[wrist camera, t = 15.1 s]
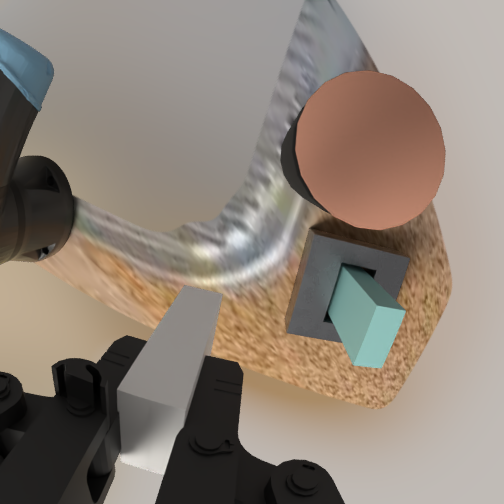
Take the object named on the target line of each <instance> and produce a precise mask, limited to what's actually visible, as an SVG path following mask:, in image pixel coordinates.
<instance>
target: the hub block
mask: <svg viewBox="0 0 504 504" xmlns="http://www.w3.org/2000/svg"><path fill="white" fill-rule="evenodd" d="M409 260H410V258H409V257H407V256H406V255H404V254H403V253H401V252H399V251H398V250H395V249H391V248H387V247H383V246H379V245H376V244H372V243H368V242H364V241H360V240H356V239H352V238H348V237H344V236H340V235H336V234H332V233H328V232H324V231H320V230H316V229H312V228H309V231H308V235H307V239H306V243H305V247H304V250H303V254H302V258H301V262H300V265H299V269H298V273H297V276H296V280H295V284H294V287H293V291H292V294H291V298H290V302H289V305H288V309H287V312H286V315H285V324H286V332H287V333H290V334H295V335H300V336H306V337H311V338H317V339H323V340H329V341H335V342H341V343H342V341H341V338H340V336H339V334H338V332H337V330H336V328H335V326H334V324H333V322H332V320H331V318H330V316H329V314H328V312H327V308H328V305H329V302H330V299H331V296H332V292H333V289H334V286H335V283H336V280H337V276H338V273H339V270H340V266H341V263H342V262H343V263H347V264H352V265H356V266H360V267H364V270H365V271H366V272H367V273H368V274H369V275H370V276H371V277H372V278H373V279H374V280H375V281H376V282H377V283H378V284H379V285H380V286H381V287H382V288H383V289H384V290H385V291H386V292H387V293H389V294H390V295H391V296H392V297H393V298H394V299H395V300H396V299H397V296H398V293H399V290H400V287H401V285H402V282H403V279H404V276H405V273H406V270H407V266H408V263H409Z"/></svg>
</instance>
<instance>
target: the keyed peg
mask: <svg viewBox="0 0 504 504" xmlns="http://www.w3.org/2000/svg"><path fill="white" fill-rule="evenodd" d="M327 312H328V314H329V316H330V318H331V320H332V322H333V324H334V326H335V328H336V330H337V332H338V334H339V336H340V338H341V341H342V343H343V345H344V347H345V349H346V351H347V353H348V355H349V357H350V359H351V362H352V364H353V365H355V366H364V367H373V368H382V366H383V364H384V362H385V359H386V357H387V355H388V353H389V350H390V348H391V346H392V344H393V341H394V339H395V337H396V334H397V332H398V329H399V327H400V324H401V322H402V319H403V317H404V314H405V312H406V310H405V309H404V308H403V307H402V306H401V305H400V304H399V303H398V302H397V301H396V300H395V299H394V298H393V297H392V296H391V295H390V294H389V293H387V292H386V291H385V290H384V289H383V288H382V287H381V286H380V285H379V284H378V283H377V282H376V281H375V280H374V279H373V278H372V277H371V276H370V275H369V274H368V273H367V272H366V271H365V270H364V269H363V268H362V267H360V266H356V265H352V264H347V263H343V262H342V263H341V266H340V270H339V273H338V276H337V280H336V283H335V286H334V289H333V292H332V296H331V299H330V302H329V305H328V308H327Z"/></svg>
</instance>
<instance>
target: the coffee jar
mask: <svg viewBox="0 0 504 504" xmlns="http://www.w3.org/2000/svg"><path fill="white" fill-rule="evenodd" d="M281 165H282V169H283V173H284V176H285V177H286V179H287V181H288V182H289V184H290V186H291V187H292V188H293V189H294V190H295V191H296V192H297V193H298V194H299V195H300V196H302V197H303V198H304V199H306V200H308V201H309V202H311V203H313V204H314V205H316V206H317V207H319V208H321V209H322V210H324V211H325V212H327V213H329V214H332V215H333V216H334V217H336V218H338V219H340V220H342V221H344V222H346V223H348V224H351V225H353V226H355V227H358V228H366V229H375V230H383V229H387V228H392V227H396V226H401V225H403V224H405V223H406V222H408V221H410V220H411V219H413V218H414V217H416V216H418V215H419V214H421V213H422V212H423V211H424V209H425V208H426V207H427V206H428V204H429V203H430V202H431V201H432V199H433V198H434V197H435V196H436V193H437V191H438V188H439V185H440V183H441V180H442V177H443V175H444V165H445V146H444V141H443V136H442V131H441V127H440V125H439V123H438V121H437V119H436V117H435V115H434V114H433V111H432V109H431V108H430V106H429V105H428V104H427V103H426V101H425V100H424V99H423V98H422V97H421V96H420V95H419V94H418V93H417V92H416V91H415V90H414V89H413V88H412V87H410V86H409V85H407V84H405V83H403V82H402V81H400V80H399V79H397V78H395V77H393V76H391V75H387V74H383V73H379V72H374V71H370V70H368V71H356V72H346V73H344V74H341V75H339V76H337V77H335V78H333V79H331V80H329V81H327V82H325V83H324V84H323V85H322V86H321V87H320V88H319V89H318V90H317V91H316V92H315V93H314V94H313V95H312V96H311V97H310V98H309V99H308V100H307V103H306V105H305V106H304V107H303V108H302V110H301V111H300V113H299V114H298V116H297V118H296V119H295V121H294V123H293V124H292V126H291V128H290V129H289V131H288V132H287V135H286V137H285V139H284V142H283V144H282V148H281Z"/></svg>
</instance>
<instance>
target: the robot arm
mask: <svg viewBox="0 0 504 504" xmlns="http://www.w3.org/2000/svg"><path fill="white" fill-rule="evenodd" d="M53 76H54V69H53V65H52V63H51V62H50V61H49V59H48V58H46V57H45V56H44V55H42V54H41V53H40V52H38V51H36V50H35V49H34V48H32V47H31V46H29V45H28V44H26V43H24V42H23V41H21V40H20V39H18V38H16V37H14V36H13V35H11V34H9V33H8V32H6V31H4V30H2V29H0V265H1V264H3V263H5V262H7V261H23V262H37V261H41V260H44V259H46V258H48V257H50V256H52V255H54V254H56V253H57V252H58V251H59V250H60V249H61V248H62V247H63V245H64V244H65V242H66V240H67V238H68V236H69V234H70V231H71V227H72V222H73V213H74V207H73V197H72V192H71V188H70V185H69V182H68V180H67V178H66V176H65V174H64V172H63V171H62V170H61V168H60V167H59V166H58V165H57V164H56V163H55V162H54V161H52V160H51V159H49V158H46V157H43V156H25V157H21V158H19V157H20V154H21V151H22V149H23V146H24V144H25V141H26V139H27V136H28V134H29V131H30V129H31V127H32V124H33V122H34V120H35V118H36V116H37V113H38V111H40V110H41V108H42V107H41V104H42V102H43V100H44V97H45V95H46V93H47V90H48V88H49V86H50V84H51V82H52V79H53ZM222 295H223V294H221V293H217V292H212V291H208V290H204V289H199V288H195V287H191V286H187V285H184V287H183V288H182V290H181V291H180V293H179V294H178V296H177V297H176V299H175V300H174V302H173V303H172V305H171V306H170V308H169V309H168V311H167V312H166V314H165V315H164V317H163V318H162V320H161V321H160V323H159V324H158V326H157V327H156V329H155V331H154V332H153V334H152V335H151V337H150V338H149V340H148V341H145V340H141V339H138V338H135V337H131V336H128V335H126V336H124V337H122V338H120V339H118V340H116V341H114V342H113V344H112V345H111V346H110V347H109V349H108V350H107V352H105V353H104V355H103V356H102V357H101V360H99V361H98V362H97V363H94V362H92V361H89V360H85V359H80V358H69V359H65V360H61V361H58V362H57V363H55V364H54V365H53V366H52V374H53V381H54V387H55V392H56V395H55V396H54V397H46V396H40V395H34V394H30V393H25V392H23V388H22V384H21V383H20V381H19V380H18V379H17V378H16V377H14V376H13V375H11V374H9V373H5V372H0V504H103V503H104V500H105V498H106V495H107V493H108V491H109V488H110V486H111V484H112V482H113V479H114V476H115V465H114V464H115V462H116V460H117V457H118V455H119V453H120V455H121V462H123V463H126V464H129V465H132V466H135V467H138V468H142V469H145V470H148V471H152V472H155V473H158V474H162V475H164V477H163V480H162V483H161V486H160V489H159V493H158V496H157V499H156V503H155V504H345V503H344V501H343V499H342V497H341V495H340V493H339V491H338V489H337V487H336V485H335V483H334V481H333V479H332V477H331V476H330V475H329V473H328V472H327V471H326V470H325V469H324V468H322V467H321V466H319V465H318V464H316V463H313V462H309V461H307V460H295V459H294V460H290V461H285V462H283V463H281V464H280V465H278V466H275V465H272V464H270V463H267V462H265V461H262V460H260V459H258V458H256V457H254V456H252V455H251V454H250V453H249V452H247V451H246V450H245V449H244V448H243V446H242V445H241V443H240V441H239V438H238V424H239V414H240V404H241V394H242V384H243V371H242V370H241V368H240V366H239V364H238V362H234V361H229V360H224V359H220V358H215V357H211V356H210V354H211V350H212V345H213V340H214V335H215V330H216V325H217V320H218V315H219V310H220V305H221V300H222Z"/></svg>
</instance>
